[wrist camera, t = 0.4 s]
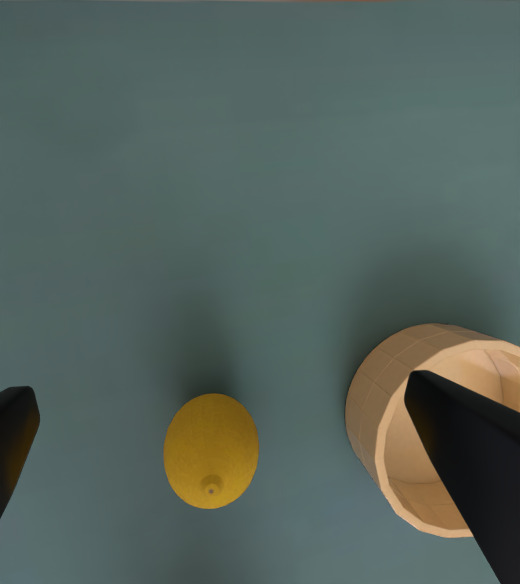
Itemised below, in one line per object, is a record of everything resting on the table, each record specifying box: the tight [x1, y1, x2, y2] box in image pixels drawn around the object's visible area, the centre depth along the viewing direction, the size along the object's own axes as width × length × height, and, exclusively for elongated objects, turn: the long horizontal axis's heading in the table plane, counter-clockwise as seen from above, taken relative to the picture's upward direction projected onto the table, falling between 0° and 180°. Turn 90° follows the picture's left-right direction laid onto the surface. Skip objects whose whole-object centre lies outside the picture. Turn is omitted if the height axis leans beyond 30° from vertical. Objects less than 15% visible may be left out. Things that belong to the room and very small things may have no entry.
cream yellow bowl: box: [345, 323, 520, 538], centre depth 24 cm, size 13×13×5 cm
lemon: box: [164, 393, 259, 509], centre depth 21 cm, size 6×6×8 cm
